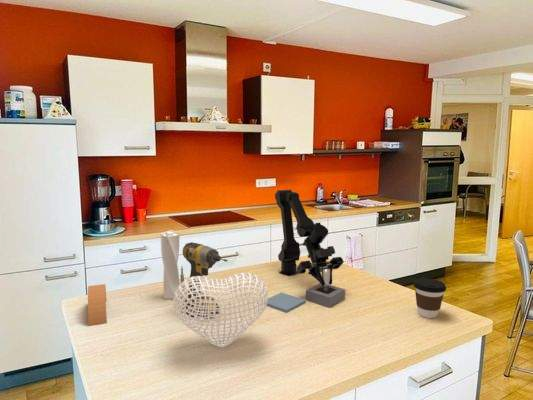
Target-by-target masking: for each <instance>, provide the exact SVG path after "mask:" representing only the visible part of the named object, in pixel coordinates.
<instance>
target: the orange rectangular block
mask: <svg viewBox="0 0 533 400" xmlns="http://www.w3.org/2000/svg"><path fill="white" fill-rule="evenodd" d="M87 312H88V313H87V314H88V315H87V318H88V327H92V326H93V327H94V326H99V325H103V324H104V325H105V324H107V323H108V320H107V318H108V317H107V287H106V283H103V284H96V285H88V286H87Z"/></svg>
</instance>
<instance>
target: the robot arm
mask: <svg viewBox="0 0 533 400" xmlns="http://www.w3.org/2000/svg"><path fill="white" fill-rule="evenodd" d="M274 199H275V202H276V205H277V206H278V208H279V209H280V213H281V222H282V225H281V226H282V232H283V241H282V243H281V246H280V247H281V250H280V251H279V253H278V256H277V258H278V260H279V261H280V262H281V265H280V266H281V267H280V269H281V270H280V271H278V273H279V274H282V275H285V276H287V277H288V276H290V277H291V276H293V275H295V274H299V275H301V274H302V275H303V274H306V272H307V270H308V273H307V274H308V275H310V276H311V277H313V278H314V279H316V281H317V282H318V283H319V284H320V283H321V284H322V285H323V286H324V285H325V284H324V280H323V278H322V272H321V269H320V268H321V267H324V268H330V285H332V284H333V270H338V269H340V268H341V266H342V265H343V264H344V263H345V261H344V259H343V257H342V256H336V257H335V256H334V257H333V255H335V254H336V250H335V247H334V246H333V245H331V246H330V245H329V246H327V248H324V247H322V245H321V243H323V242H324V241H325V239H326V237H327V236H328V235H329V230H328V228H327V227H326V226H324V225H322V224H321V222H314V221H313V220H312V219H311V218H310V217H308V215H307V213H306V211H305V208H304V206H303V203H302V202H301V199H300V195H299V193H298V192H296V191H292V189H282V190H281V189H278V190H277V191H276V192H275V193H274ZM292 213H293V215H294V218H295V220H296V226H295V227H296V232H297V235H298V236H299V237H300V238H304V239H303V242H302V245H303V246H304V247H306V251H307V253H308V255H307V258H308V259H310V260H303V261H300V262H299V264H298V265H297V261H299V260H300V257H301V248H300V243H299V241H297V240H296V239H295V231H294V222H293V215H292ZM330 257H332V258H331V259H330ZM329 259H330V260H329ZM328 260H329V261H328Z"/></svg>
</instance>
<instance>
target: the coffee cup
mask: <svg viewBox="0 0 533 400" xmlns="http://www.w3.org/2000/svg"><path fill="white" fill-rule="evenodd" d="M412 285H413V287H414V288H415V289H414V291H415V292H414V293H415V302H416V303H415V304H416V306H417V312H418V314H419V315H420V317H422V318H425V319H426V318H427V319H435V318H437V317H438V316H439V311H440V309H441V307H442V302H443V298H444V293H445V292H446V291H447V285H446V284H445V283H444V282H443V281H441V280H439V279H435V278H429V277H428V278H427V277H420V278H416V279H415V280H414V282H413V284H412Z"/></svg>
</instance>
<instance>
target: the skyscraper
mask: <svg viewBox="0 0 533 400" xmlns="http://www.w3.org/2000/svg"><path fill="white" fill-rule="evenodd" d="M160 250H161V251H160V252H161V260H162V264H163V285H162V286H163V300H173V299H174V295H175V291H176V289H177V288H178V286H179V285H180V284H181V283H182V282H183V281H184V280H185V274H184V268H183V267H181V268H180V270H181V271H180V272H179V266H178V260H179V255H180V234H179V233H178V231H177V230H172V229H171V230H166V231H164V232H161V233H160ZM184 287H185V285H184V286H183V287H182V288H184ZM185 290H186V289H185ZM185 290H184V291H185ZM182 291H183V290H182ZM179 292H180V290H179ZM179 292H178V293H179ZM180 294H182V293H180ZM178 298H179V296H178ZM181 300H183V295H182V296H181Z"/></svg>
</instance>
